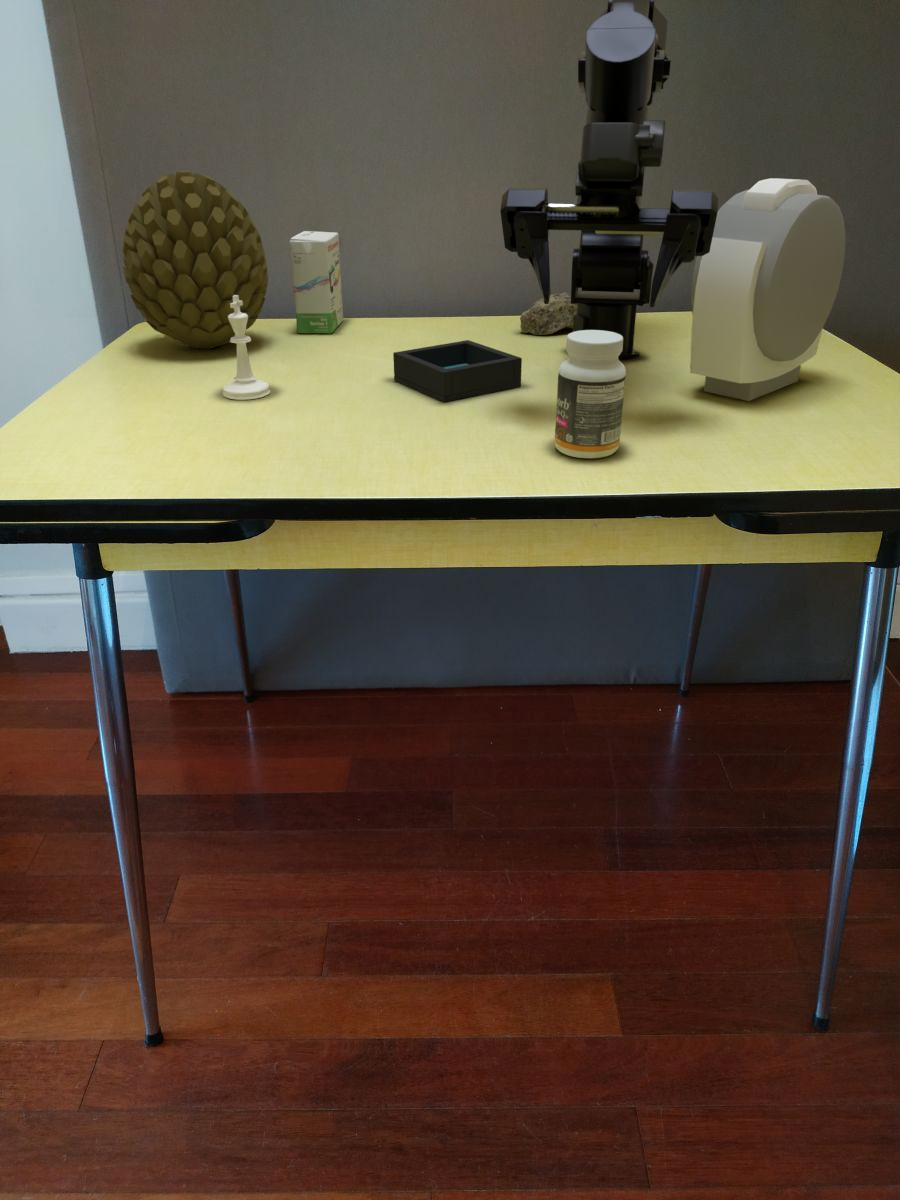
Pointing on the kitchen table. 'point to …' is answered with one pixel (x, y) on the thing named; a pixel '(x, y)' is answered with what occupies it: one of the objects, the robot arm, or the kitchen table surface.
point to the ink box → (316, 281)
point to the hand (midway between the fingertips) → (598, 302)
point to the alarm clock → (765, 287)
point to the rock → (549, 315)
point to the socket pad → (457, 370)
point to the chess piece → (243, 360)
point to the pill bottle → (590, 395)
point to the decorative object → (193, 259)
